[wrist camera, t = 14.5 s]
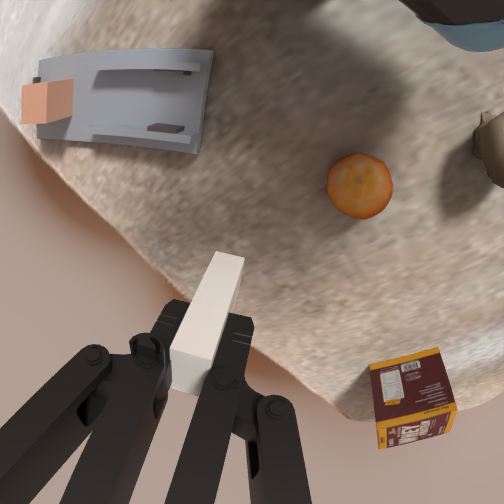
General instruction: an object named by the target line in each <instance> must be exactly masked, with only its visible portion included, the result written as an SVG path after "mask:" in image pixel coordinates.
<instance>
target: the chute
mask: <svg viewBox="0 0 504 504" xmlns="http://www.w3.org/2000/svg"><path fill="white" fill-rule="evenodd" d="M213 54H214V51H212V50H204V49H183V48H140V49H120V50H107V51H96V52H87V53H79V54H72V55H65V56H59V57H54V58H48V59H43V60H39V71H38V77H35V78H33V84H35V83H41V82H47V81H55V80H64V79H74V89H73V110H72V116H70V117H67V118H63V119H60V120H56V121H53V122H50V123H47V124H37V139H52V140H71V141H86V142H98V143H110V144H120V145H129V146H138V147H147V148H155V149H162V150H170V151H177V152H184V153H190V154H197V153H199V152H200V144H201V136H202V128H203V120H204V113H205V105H206V98H207V91H208V85H209V78H210V72H211V66H212V60H213Z"/></svg>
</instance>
